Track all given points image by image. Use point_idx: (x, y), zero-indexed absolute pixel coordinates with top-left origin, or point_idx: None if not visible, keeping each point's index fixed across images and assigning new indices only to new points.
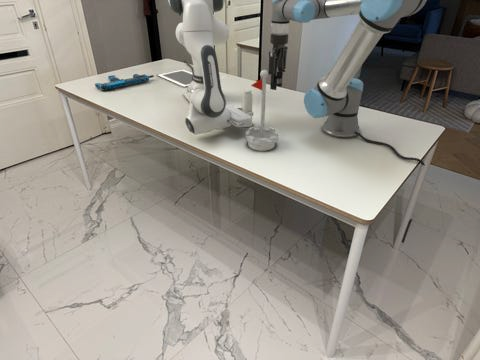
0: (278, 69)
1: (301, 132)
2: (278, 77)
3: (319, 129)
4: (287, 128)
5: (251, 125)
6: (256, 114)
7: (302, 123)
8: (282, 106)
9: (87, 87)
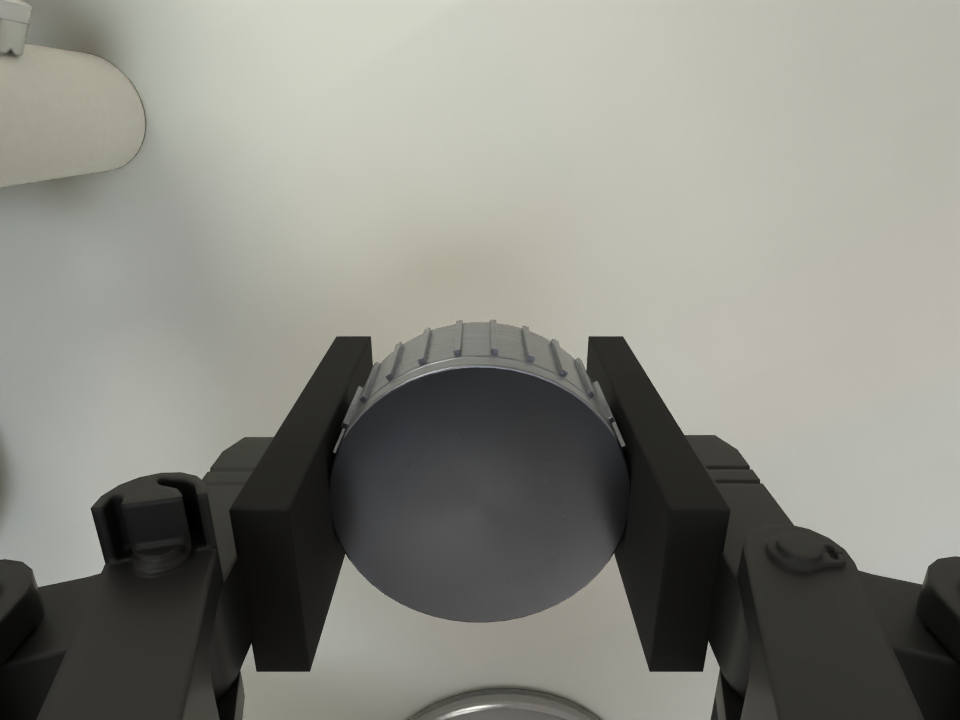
0: (745, 593)
1: None
2: (534, 533)
3: (439, 675)
4: None
5: (103, 171)
6: (421, 36)
7: None
8: (817, 193)
9: None
